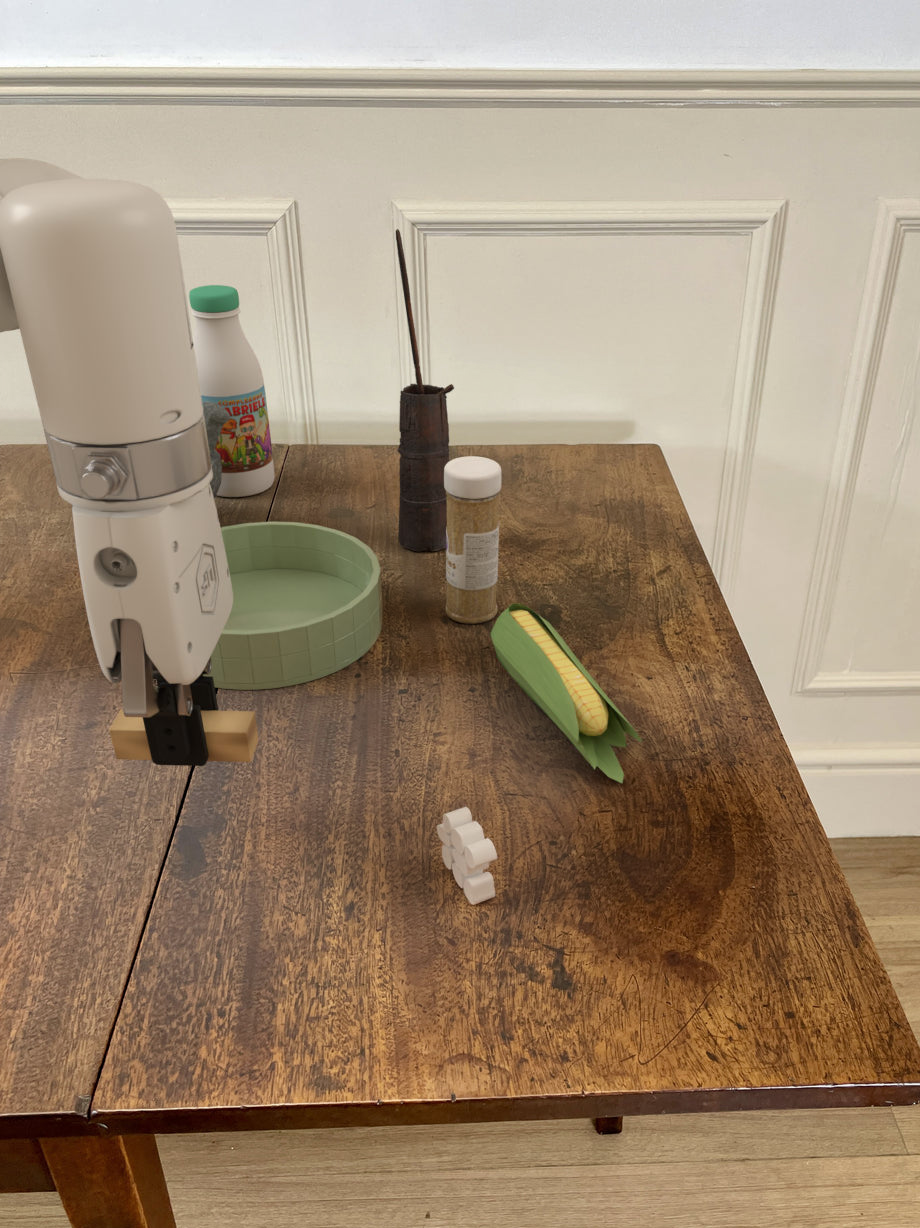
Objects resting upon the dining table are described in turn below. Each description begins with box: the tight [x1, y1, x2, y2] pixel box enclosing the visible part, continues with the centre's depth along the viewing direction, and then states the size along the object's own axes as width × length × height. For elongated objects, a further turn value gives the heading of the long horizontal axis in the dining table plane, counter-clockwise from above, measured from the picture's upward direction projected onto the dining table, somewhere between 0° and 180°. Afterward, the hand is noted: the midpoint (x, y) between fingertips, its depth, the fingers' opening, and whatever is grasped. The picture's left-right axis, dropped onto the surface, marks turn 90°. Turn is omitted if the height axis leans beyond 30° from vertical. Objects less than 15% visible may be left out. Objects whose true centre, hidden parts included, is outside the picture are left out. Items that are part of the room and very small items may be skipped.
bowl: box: [203, 521, 384, 691], centre depth 85 cm, size 19×19×5 cm
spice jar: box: [444, 455, 502, 625], centre depth 85 cm, size 5×5×13 cm
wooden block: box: [108, 708, 260, 763], centre depth 62 cm, size 8×2×2 cm, turn 90°
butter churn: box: [395, 228, 455, 552], centre depth 93 cm, size 9×10×28 cm
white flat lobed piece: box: [436, 806, 498, 906], centre depth 61 cm, size 5×1×4 cm, turn 29°
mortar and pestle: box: [202, 401, 230, 499], centre depth 99 cm, size 11×9×12 cm
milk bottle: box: [188, 284, 276, 498], centre depth 105 cm, size 8×8×20 cm
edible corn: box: [489, 602, 644, 784], centre depth 76 cm, size 5×20×5 cm, turn 23°
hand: (187, 745), depth 62 cm, fingers closed on wooden block, 2 cm apart
